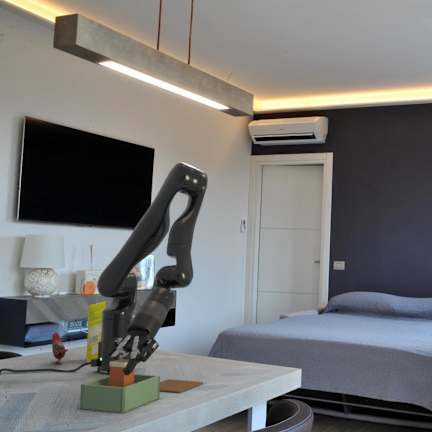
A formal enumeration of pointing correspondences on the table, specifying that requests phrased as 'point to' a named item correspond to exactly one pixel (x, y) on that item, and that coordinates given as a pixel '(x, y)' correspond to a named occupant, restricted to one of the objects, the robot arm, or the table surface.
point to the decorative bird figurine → (58, 347)
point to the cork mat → (177, 385)
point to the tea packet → (120, 374)
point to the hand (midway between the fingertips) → (117, 372)
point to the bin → (119, 394)
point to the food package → (94, 329)
